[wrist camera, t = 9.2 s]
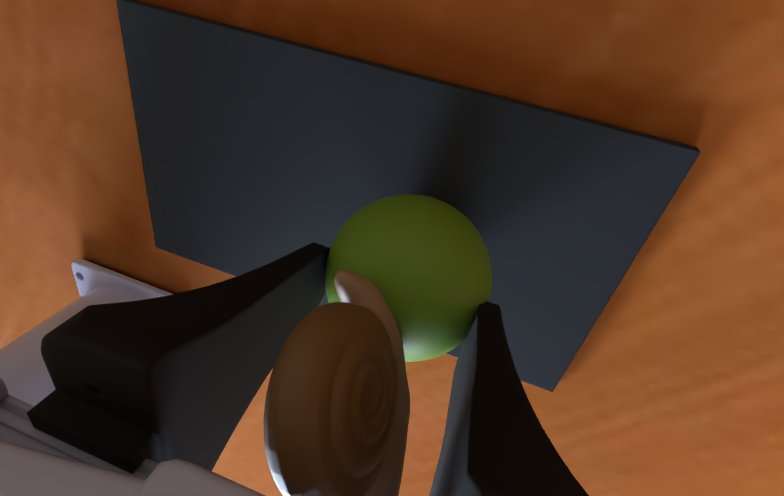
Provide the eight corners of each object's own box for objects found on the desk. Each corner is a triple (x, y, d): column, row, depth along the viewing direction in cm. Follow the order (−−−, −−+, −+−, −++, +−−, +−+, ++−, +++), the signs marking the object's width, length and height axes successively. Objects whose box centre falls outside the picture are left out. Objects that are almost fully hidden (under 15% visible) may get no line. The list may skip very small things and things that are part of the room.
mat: (552, 385, 19) (552, 392, 18) (161, 243, 22) (155, 247, 21) (697, 147, 12) (701, 151, 12) (124, -3, 16) (115, -3, 15)
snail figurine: (388, 317, 19) (216, 667, 9) (343, 182, 16) (29, 474, 6) (514, 313, 17) (466, 762, 7) (485, 157, 14) (343, 537, 4)
